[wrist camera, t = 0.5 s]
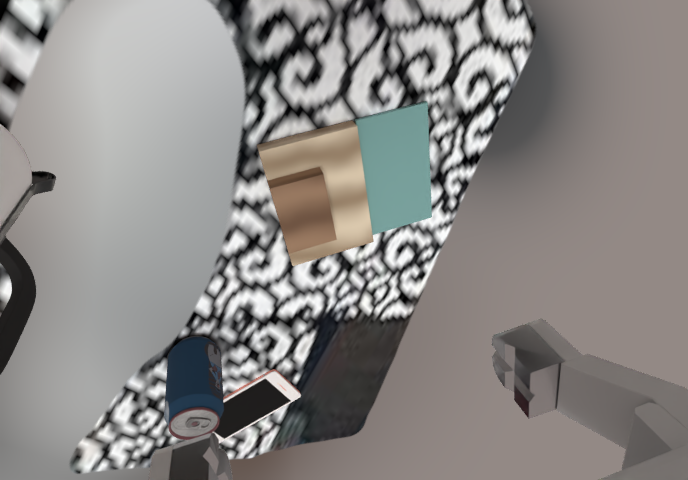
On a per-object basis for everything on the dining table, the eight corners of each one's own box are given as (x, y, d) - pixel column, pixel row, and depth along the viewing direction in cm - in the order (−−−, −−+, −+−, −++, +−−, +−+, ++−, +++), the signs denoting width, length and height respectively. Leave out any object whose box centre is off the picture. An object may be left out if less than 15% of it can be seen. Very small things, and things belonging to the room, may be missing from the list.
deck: (256, 144, 47) (258, 151, 45) (351, 120, 48) (357, 126, 46) (289, 257, 56) (292, 266, 54) (368, 233, 58) (373, 241, 56)
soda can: (161, 363, 60) (154, 441, 50) (178, 328, 57) (174, 403, 48) (209, 370, 63) (212, 444, 54) (227, 337, 61) (233, 409, 51)
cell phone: (178, 421, 68) (177, 426, 67) (274, 366, 67) (274, 370, 67) (212, 442, 74) (212, 447, 73) (301, 391, 73) (302, 396, 72)
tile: (267, 180, 47) (269, 188, 45) (319, 166, 48) (323, 174, 46) (286, 244, 52) (289, 253, 51) (332, 230, 53) (336, 239, 52)
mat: (354, 119, 48) (355, 120, 48) (425, 101, 49) (427, 102, 49) (370, 233, 58) (371, 235, 57) (430, 215, 59) (431, 217, 58)
